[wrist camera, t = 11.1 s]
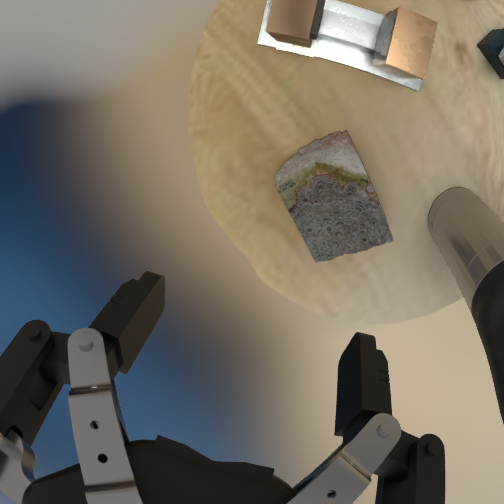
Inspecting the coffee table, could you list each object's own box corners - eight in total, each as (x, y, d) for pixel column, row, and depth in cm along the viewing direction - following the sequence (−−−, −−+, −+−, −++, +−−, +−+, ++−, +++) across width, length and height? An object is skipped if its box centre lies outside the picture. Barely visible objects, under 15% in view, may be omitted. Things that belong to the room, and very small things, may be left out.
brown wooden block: (276, 41, 29) (265, 31, 23) (287, -6, 26) (278, -26, 19) (315, 49, 29) (314, 41, 22) (326, 2, 25) (328, -17, 19)
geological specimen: (319, 271, 41) (263, 175, 34) (320, 246, 45) (271, 158, 39) (395, 245, 36) (350, 136, 30) (387, 221, 41) (345, 124, 34)
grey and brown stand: (431, 35, 25) (460, 26, 17) (416, 92, 30) (444, 98, 22) (271, -12, 26) (257, -36, 19) (258, 46, 31) (240, 36, 23)
